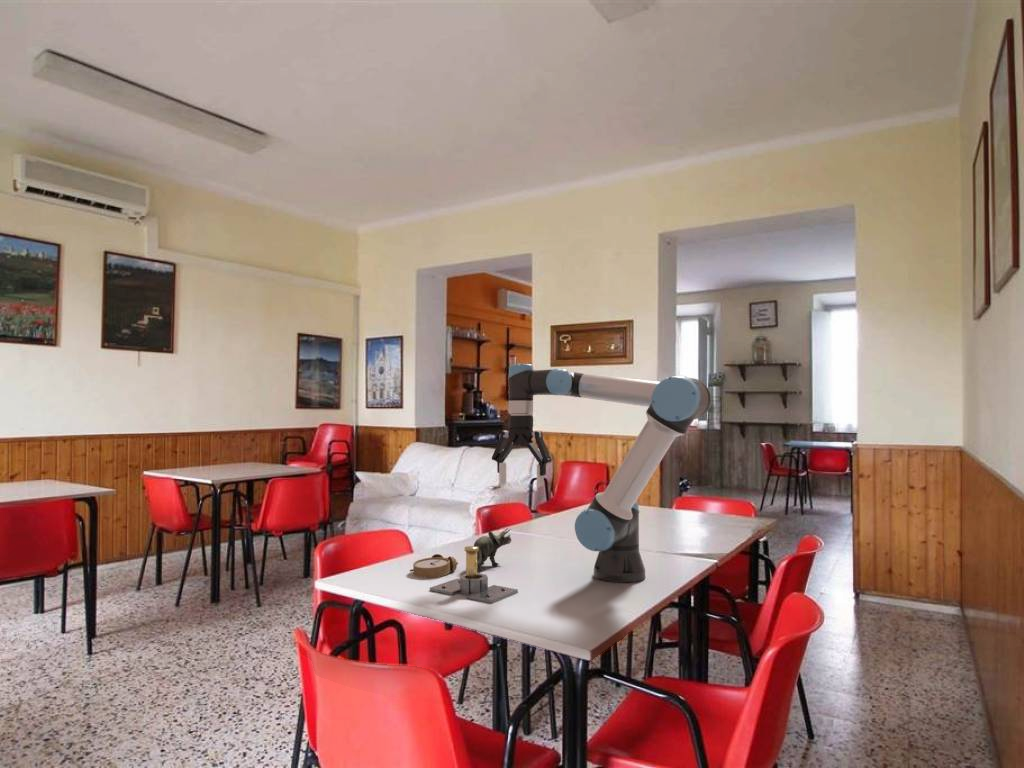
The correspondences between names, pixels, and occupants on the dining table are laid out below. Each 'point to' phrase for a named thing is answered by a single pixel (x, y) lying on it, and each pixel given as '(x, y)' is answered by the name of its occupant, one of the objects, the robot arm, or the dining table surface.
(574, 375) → the robot arm
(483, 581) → the grey plate with ring
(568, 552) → the dining table surface
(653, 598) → the dining table surface
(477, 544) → the dinosaur figurine
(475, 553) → the pin
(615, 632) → the dining table surface
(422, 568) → the alarm clock
